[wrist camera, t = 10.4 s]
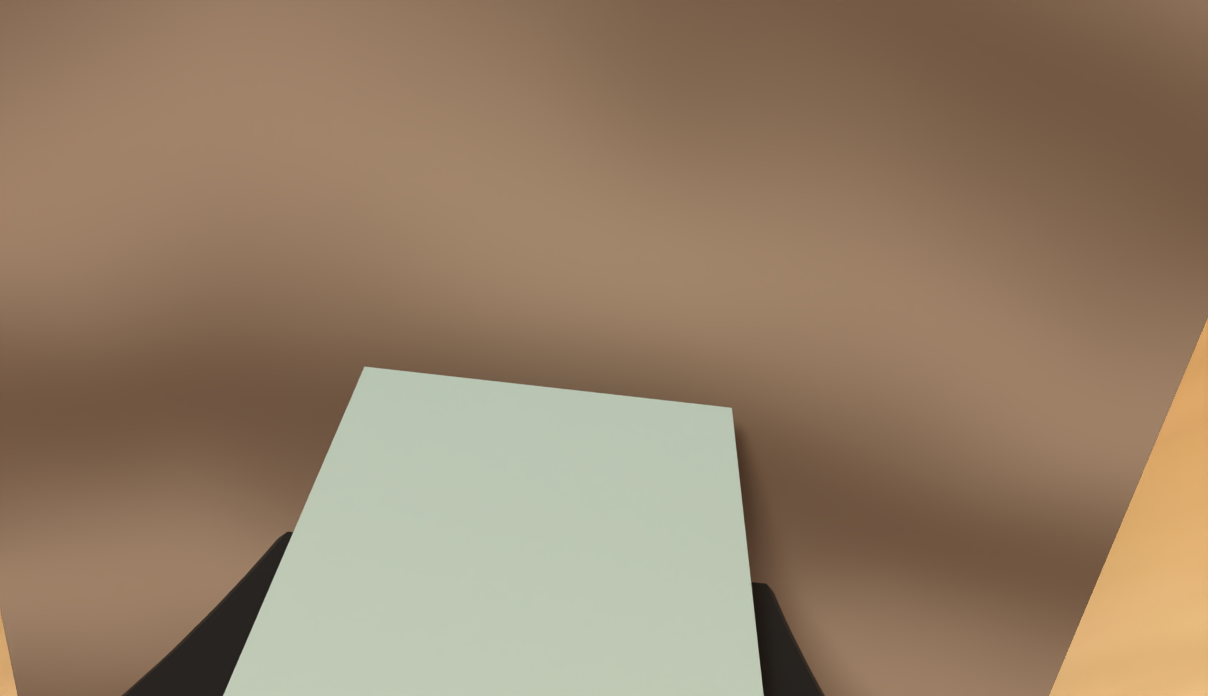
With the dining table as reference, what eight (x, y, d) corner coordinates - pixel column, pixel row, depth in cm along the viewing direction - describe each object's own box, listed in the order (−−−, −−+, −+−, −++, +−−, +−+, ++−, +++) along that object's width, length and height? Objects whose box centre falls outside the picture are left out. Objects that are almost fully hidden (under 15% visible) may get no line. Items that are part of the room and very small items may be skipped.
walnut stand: (935, 810, 22) (959, 906, 20) (90, 721, 22) (41, 811, 20) (1267, -66, 14) (1355, -32, 12) (-63, -229, 14) (-168, -218, 12)
